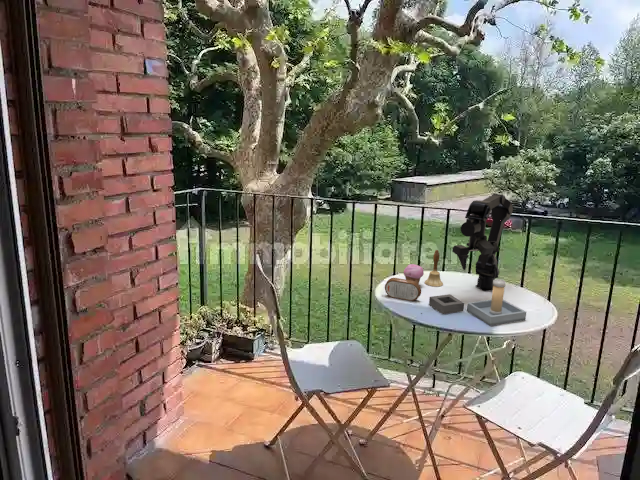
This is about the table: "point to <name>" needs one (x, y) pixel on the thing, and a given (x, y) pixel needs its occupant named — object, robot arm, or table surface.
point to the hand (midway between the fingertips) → (473, 268)
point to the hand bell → (434, 273)
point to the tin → (403, 289)
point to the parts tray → (507, 316)
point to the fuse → (497, 297)
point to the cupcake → (413, 272)
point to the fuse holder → (446, 304)
